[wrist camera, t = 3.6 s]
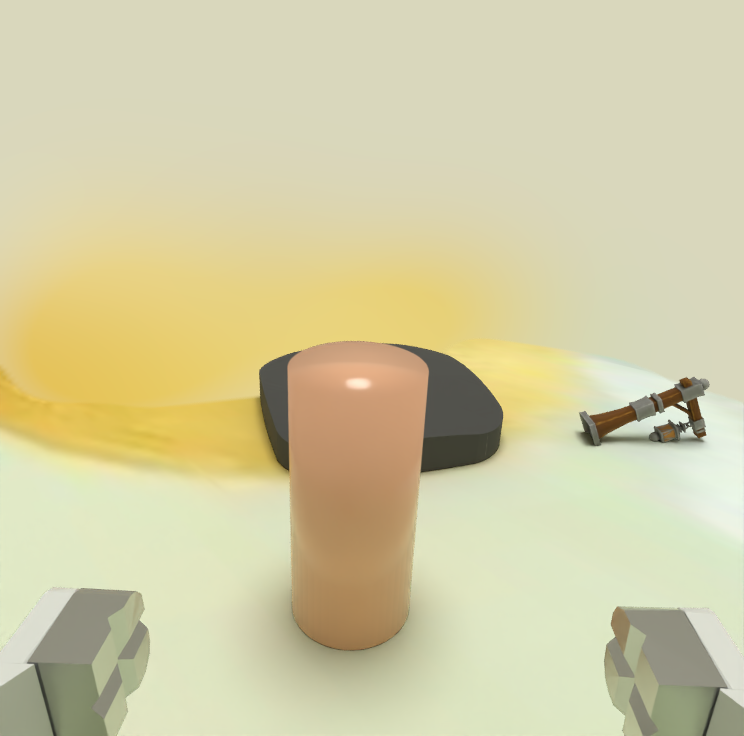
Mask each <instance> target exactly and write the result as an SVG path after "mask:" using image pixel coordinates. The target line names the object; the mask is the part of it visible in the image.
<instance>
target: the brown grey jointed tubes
mask: <svg viewBox="0 0 744 736" xmlns="http://www.w3.org/2000/svg"><path fill="white" fill-rule="evenodd" d="M674 385H675V388H672V389H670V390H667V391H665V392H662V393H660V394H657V395H656V394H655V393H653V394H650V395H651V397H649V398H648V397H647V396H645V397H644V398H642V399H640V400H637V401H635V402H630V403H629V404H630V405H629V406H627V407H624V408H621V409H618V410H614V411H610V412H606V413H602V414H597V415H591V416H589V415H588V414H587V413H586V412H585V411H584V412H579V414H580V417H581V421H582V424H583V427H584V431H585V432H588V433H589V434H590V435H591V437H592V438H593V440H594V443H595V446H598V445H601V443H600V440H599V439H600V438H602V437H603V436H605V435H606V434H608V433H610V432H612V431H613V430H615V429H617V428H619V427H621V426H623V425H625V424H627V423H629V422H632V421H634V420H637V421H638V422H639V421H641V420H642V419H645V418H647V417H650V416H654V415H656V412H659V413H660V414H661V413H662V412H665V411H664V409H665V408H667V407H669V406H674V407H676V408H678V409H680V410H682V411H684V412H685V413H687V414H688V416H689V417H688V418H689V422H687V423H684V424H682V423H681V422H680V421H679V425H680V426H679V425H678V424H677V425H675V424H674V423H673V422H671V421H670V420H668V422H669V423H668V424H666V425H662V426H658V427H655V426H654V430H655V432H652V433H651V434H650V435H649V438H650V440H652V441H658V440H660V441H661V442H662V443H665V442H667V441H670V440H672V439H674V438H677V439H678V440H680V432H681V433H682V430H683V431H684V432H686V429H687V428H688V427H692V429H693V433H694V434H695V435H696V436H697V437H698V438H700V437H703V436H706V432H705V431H706V430H705V429H704V427H706V426H705V422H704V418H702V417H701V413H700V409H699V405H698V401H697V397H699V396H704V395H705V394H704V390H706V389H707V388H708V387H709V382H708V380H706V379H700V380H697V379H696V378H695V377H693V378H691V379H688V378H683V379H681V380H680V383H679V384H674ZM681 401H683V402H684V403H686V404H687V408H688V409H686V408H684V407H682V406H680V405H678V404H677V403H679V402H681ZM689 423H690V426H689V425H688V424H689ZM685 424H686V426H687V427H685Z"/></svg>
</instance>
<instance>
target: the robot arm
mask: <svg viewBox="0 0 744 736" xmlns="http://www.w3.org/2000/svg"><path fill="white" fill-rule="evenodd" d="M144 609H145V608H144V604H143V599H142V595H141V594H140V593H138V592H136V591H122V590H104V589H87V588H81V589H74V588H59V587H53V588H51V589H49V590H48V591H46V592H45V593H44V594H43V595H42V596H41V598H40V599H39V600H38V602H37V603H36V604H35V606H34V607H33V608H32V610H31V611H30V612H29V614H28V615H27V616H26V618H25V619H24V620H23V622H22V623H21V624H20V626H19V627H18V628H17V630H16V631H15V632H14V634H13V635H12V636H11V638H10V639H9V640H8V642H7V643H6V644H5V646H4V647H3V648H2V650H1V651H0V736H117V734H118V732H119V730H120V728H121V725H122V723H123V721H124V719H125V717H126V714H127V712H128V709H127V703H126V697H127V696H128V695H130V694H131V693H132V692H134V691H135V690H136V689H137V688H139V686H140V683H141V681H142V679H143V676H144V674H145V672H146V667H147V663H148V658H149V654H150V638H149V632H148V628H147V627H146V626H145V625H144V624H143V623H142V622H141V621H140V620H139V619H140V617H141V615H142V613H143V611H144ZM611 626H612V629H613V631H614V634H615V636H616V637H615V638H614V639H612V640H611V641H610V642H609V643H608V644H607V645H606V652H605V658H604V666H605V679H606V684H607V688H608V692H609V695H610V698H611V700H612V703H613V705H614V706H615V707H616V708H617V709H618V710H619V711H620V712H621V713H623V714H624V715H625V721H624V725H623V730H622V731H623V733H624V736H744V657H743V655H742V653H741V652H740V650H739V649H738V647H737V646H736V644H735V643H734V641H733V640H732V638H731V637H730V635H729V634H728V632H727V631H726V629H725V628H724V626H723V624H722V623H721V621H720V620H719V618H718V617H717V615H716V614H715V613H714V612H713V611H712V610H710V609H709V608H677V609H676V608H659V607H617V608H616V609H615V611H614V612H613V616H612V620H611Z"/></svg>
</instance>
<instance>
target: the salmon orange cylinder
mask: <svg viewBox="0 0 744 736" xmlns="http://www.w3.org/2000/svg"><path fill="white" fill-rule="evenodd" d="M287 367H288V421H289V474H290V527H291V581H292V611H293V616H294V618H295V621H296V623H297V624H298V626H299V627H300V629H301V630H302V631H303V632H304V633H305V634H306V635H307V636H308V637H310V638H311V639H313V640H314V641H316V642H318V643H320V644H322V645H325V646H328V647H331V648H335V649H341V650H362V649H367V648H371V647H374V646H377V645H379V644H382V643H384V642H386V641H387V640H389V639H390V638H392V637H393V636H394V635H395V634H397V632H398V631H399V630H400V629H401V628H402V626H403V625H404V623H405V621H406V619H407V616H408V613H409V602H410V590H411V579H412V567H413V555H414V543H415V531H416V519H417V507H418V495H419V483H420V471H421V459H422V447H423V435H424V424H425V412H426V400H427V388H428V376H429V369H428V366H427V364H426V363H425V362H424V361H423V360H422V359H421V358H420V357H418V356H417V355H415V354H413V353H411V352H409V351H407V350H404V349H402V348H399V347H395V346H391V345H387V344H382V343H374V342H364V341H343V342H332V343H326V344H321V345H317V346H313V347H311V348H308V349H305V350H303V351H301V352H299V353H298V354H296V355H295V356H294V357H293V358H292V359H291V360H290V361H289V363H288V366H287Z"/></svg>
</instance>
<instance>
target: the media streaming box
mask: <svg viewBox="0 0 744 736" xmlns="http://www.w3.org/2000/svg"><path fill="white" fill-rule="evenodd" d="M382 344H383V343H382ZM387 345H391V346H395V347H399V348H402V349H404V350H407V351H409V352H411V353H413V354H415V355H417V356H418V357H420V358H421V359H422V360H423V361H424V362H425V363H426V364H427V366H428V369H429V376H428V388H427V400H426V412H425V424H424V435H423V447H422V459H421V471H420V472H423V471H430V470H437V469H443V468H450V467H456V466H462V465H468V464H473V463H477V462H481V461H483V460H485V459H487V458H489V457H490V456H492V455H493V454H494V453H495V452H496V451H497V449H498V447H499V442H500V435H501V428H502V421H503V411H502V408H501V406H500V404H499V403H498V401H497V400H496V399H495V397H494V396H493V395H492V393H491V392H490V391H489V389H488V388H487V387H486V386H485V385H484V384H483V382H482V381H481V380H480V379H479V378H478V377H477V376H476V375H475V374H474V373H473V372H472V371H470V370H469V369H468V368H467V367H466V366H464V365H463V364H461V363H460V362H459V361H457V360H455V359H454V358H452V357H450V356H448V355H445V354H442V353H439V352H436V351H432V350H428V349H423V348H418V347H412V346H407V345H399V344H387ZM299 352H301V351H299ZM299 352H294V353H290V354H287V355H285V356H282V357H279V358H277V359H274V360H272V361H270V362H269V363H267V364H265V365H264V366H263V367H262V368H261V369H260V372H259V375H260V398H261V406H262V411H263V416H264V421H265V425H266V429H267V432H268V435H269V439H270V442H271V445H272V447H273V450H274V453H275V455H276V458H277V460H278V462H279V463H280V464H281V465H282V466H283V467H285V468H286V469H288V470H289V421H288V367H287V366H288V363H289V361H290V360H291V359H292V358H293V357H294V356H295V355H296V354H298V353H299Z"/></svg>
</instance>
